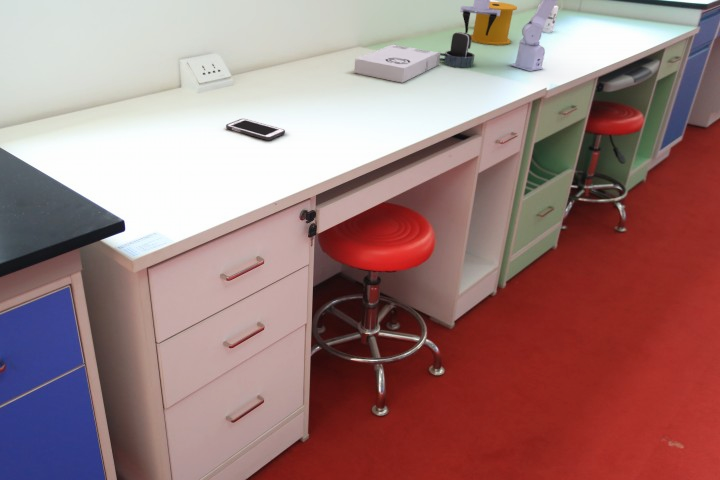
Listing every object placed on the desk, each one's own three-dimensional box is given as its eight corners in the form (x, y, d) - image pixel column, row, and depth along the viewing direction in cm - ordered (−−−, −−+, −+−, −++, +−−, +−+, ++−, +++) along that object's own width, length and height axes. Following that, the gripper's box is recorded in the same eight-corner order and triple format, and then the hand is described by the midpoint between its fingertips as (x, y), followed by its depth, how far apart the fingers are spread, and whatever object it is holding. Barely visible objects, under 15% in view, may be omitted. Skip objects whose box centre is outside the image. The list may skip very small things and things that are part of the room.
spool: (513, 39, 302) (520, 4, 294) (505, 47, 288) (512, 10, 280) (474, 34, 308) (480, -1, 300) (464, 41, 294) (470, 4, 286)
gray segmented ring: (473, 62, 261) (475, 52, 259) (472, 69, 252) (474, 58, 250) (437, 58, 263) (439, 48, 261) (435, 65, 254) (436, 54, 252)
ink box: (532, 30, 324) (537, 4, 318) (537, 28, 328) (542, 3, 322) (548, 33, 320) (554, 7, 314) (553, 32, 323) (559, 6, 317)
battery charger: (468, 65, 256) (473, 34, 251) (463, 66, 254) (468, 35, 248) (453, 61, 260) (458, 30, 255) (447, 62, 258) (452, 31, 252)
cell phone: (268, 141, 174) (268, 137, 173) (224, 128, 180) (224, 124, 180) (286, 133, 179) (286, 130, 179) (242, 121, 186) (242, 118, 185)
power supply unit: (439, 65, 254) (440, 51, 252) (402, 83, 229) (404, 68, 227) (393, 56, 262) (395, 43, 259) (353, 73, 237) (354, 58, 235)
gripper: (503, -4, 251) (496, 34, 258) (464, -8, 254) (458, 29, 261) (502, -1, 245) (495, 37, 252) (462, -6, 249) (456, 33, 255)
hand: (476, 33), depth 256 cm, fingers open, 7 cm apart
